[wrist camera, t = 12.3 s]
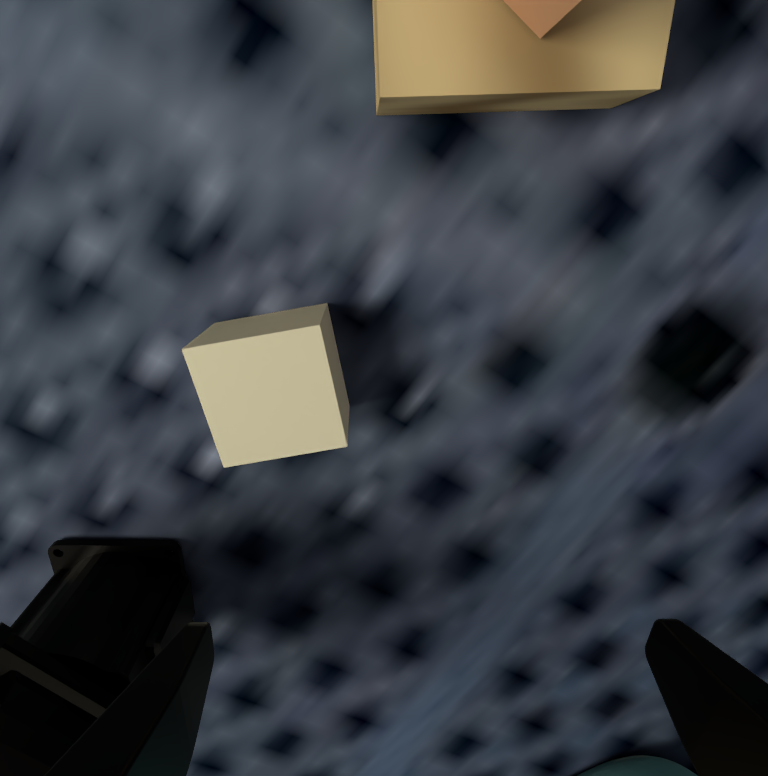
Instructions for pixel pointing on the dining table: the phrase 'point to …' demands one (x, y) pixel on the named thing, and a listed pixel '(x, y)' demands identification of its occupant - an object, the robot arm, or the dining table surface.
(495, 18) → the base brick
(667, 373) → the dining table surface
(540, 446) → the dining table surface
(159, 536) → the dining table surface
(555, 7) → the pillar brick
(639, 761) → the casserole dish
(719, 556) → the dining table surface
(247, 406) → the brick
